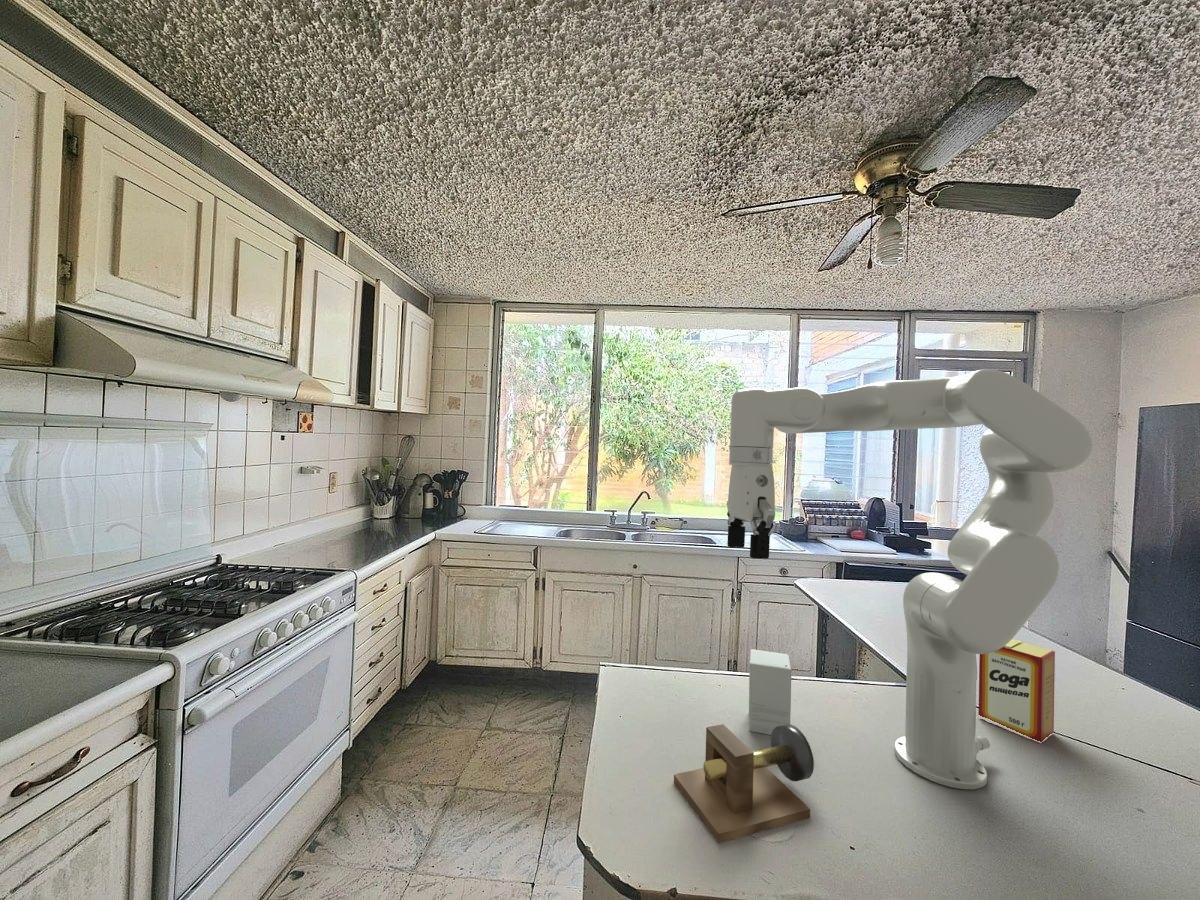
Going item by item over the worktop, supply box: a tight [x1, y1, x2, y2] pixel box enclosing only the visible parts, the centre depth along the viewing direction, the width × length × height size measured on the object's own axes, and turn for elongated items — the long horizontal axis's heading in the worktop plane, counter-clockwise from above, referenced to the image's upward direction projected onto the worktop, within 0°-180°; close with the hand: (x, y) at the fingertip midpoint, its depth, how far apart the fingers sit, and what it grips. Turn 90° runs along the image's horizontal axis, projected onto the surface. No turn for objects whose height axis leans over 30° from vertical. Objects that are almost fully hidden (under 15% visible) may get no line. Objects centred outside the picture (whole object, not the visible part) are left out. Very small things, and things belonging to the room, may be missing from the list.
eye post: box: [673, 723, 811, 844], centre depth 69 cm, size 15×12×9 cm
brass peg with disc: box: [702, 723, 815, 782], centre depth 70 cm, size 17×7×7 cm, turn 110°
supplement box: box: [748, 648, 792, 736], centre depth 89 cm, size 7×7×13 cm
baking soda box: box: [978, 638, 1056, 742], centre depth 92 cm, size 10×6×16 cm
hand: (746, 552), depth 85 cm, fingers open, 9 cm apart
